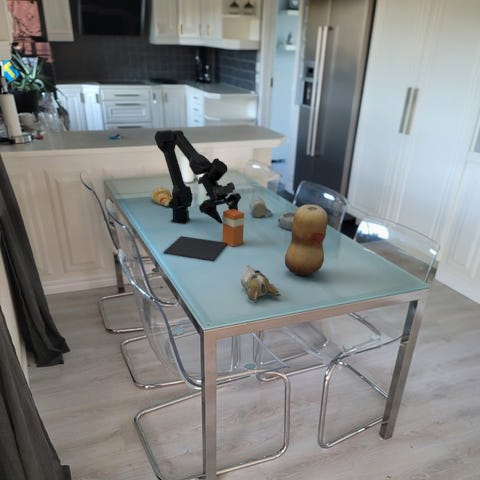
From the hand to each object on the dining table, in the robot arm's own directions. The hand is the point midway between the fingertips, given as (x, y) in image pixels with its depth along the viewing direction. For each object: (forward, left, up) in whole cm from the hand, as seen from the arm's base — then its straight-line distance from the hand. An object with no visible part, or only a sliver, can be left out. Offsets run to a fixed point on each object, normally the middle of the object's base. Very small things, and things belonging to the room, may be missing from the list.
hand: (230, 220), depth 190 cm
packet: (+1, 0, -9) cm, 9 cm away
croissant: (-47, +38, -9) cm, 61 cm away
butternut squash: (+34, -20, -9) cm, 40 cm away
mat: (-10, -12, -9) cm, 18 cm away
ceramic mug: (+4, +38, -9) cm, 40 cm away
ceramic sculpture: (+22, -41, -9) cm, 47 cm away
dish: (+22, +29, -9) cm, 38 cm away
